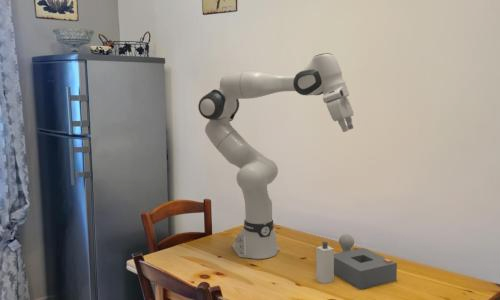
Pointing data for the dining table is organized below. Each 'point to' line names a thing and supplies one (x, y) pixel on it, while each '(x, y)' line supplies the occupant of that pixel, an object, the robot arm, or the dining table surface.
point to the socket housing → (364, 268)
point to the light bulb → (346, 242)
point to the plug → (325, 263)
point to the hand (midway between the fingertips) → (348, 130)
